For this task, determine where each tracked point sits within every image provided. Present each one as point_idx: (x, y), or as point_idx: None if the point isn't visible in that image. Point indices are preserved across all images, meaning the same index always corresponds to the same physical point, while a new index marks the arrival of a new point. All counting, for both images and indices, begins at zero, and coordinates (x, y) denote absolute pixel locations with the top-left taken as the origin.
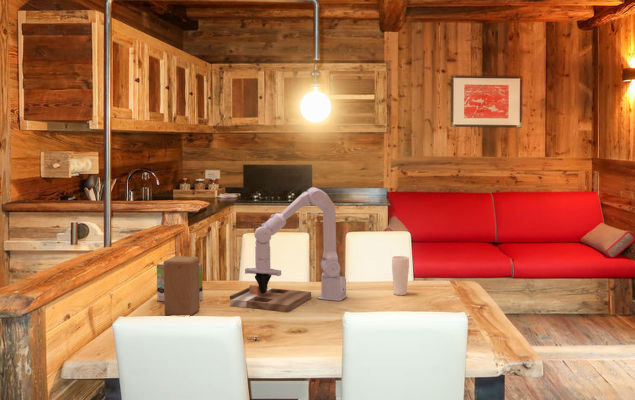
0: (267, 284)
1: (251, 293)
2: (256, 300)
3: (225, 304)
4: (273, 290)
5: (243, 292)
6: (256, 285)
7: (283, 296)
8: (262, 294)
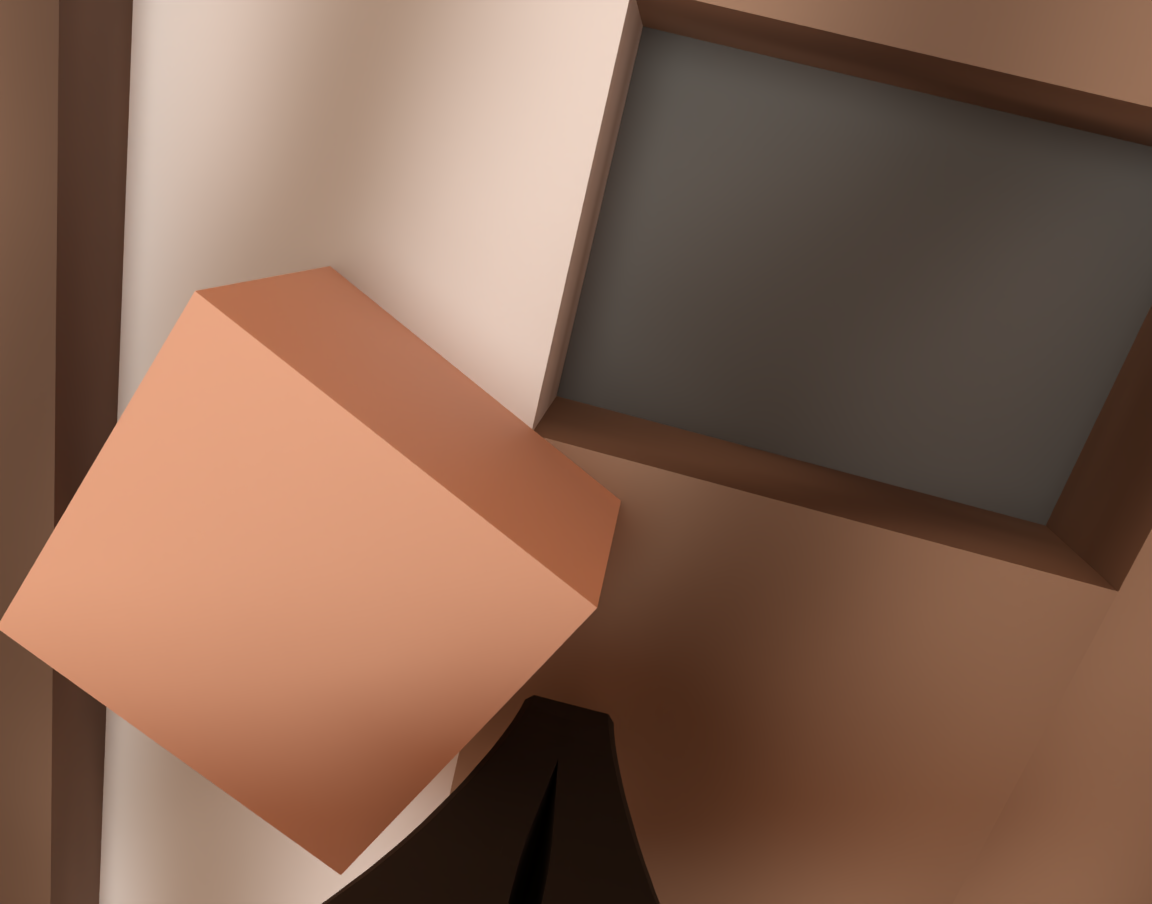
0: (649, 891)
1: None
2: None
3: None
4: (721, 17)
5: (76, 729)
6: (244, 699)
7: (1122, 876)
8: None
